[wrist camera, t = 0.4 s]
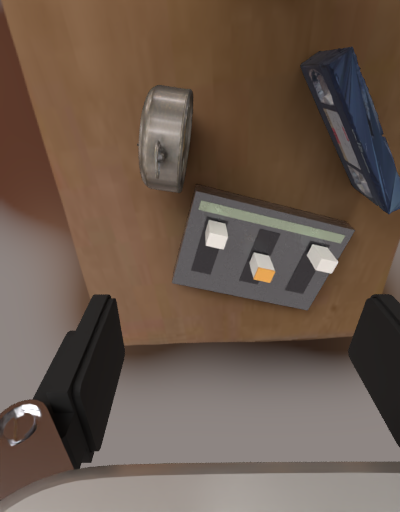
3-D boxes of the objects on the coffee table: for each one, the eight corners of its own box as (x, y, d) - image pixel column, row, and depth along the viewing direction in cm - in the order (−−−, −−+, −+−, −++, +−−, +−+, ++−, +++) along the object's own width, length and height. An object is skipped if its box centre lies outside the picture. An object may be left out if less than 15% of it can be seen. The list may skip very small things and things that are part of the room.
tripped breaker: (253, 252, 45) (258, 268, 41) (269, 255, 45) (275, 271, 42) (249, 262, 46) (253, 279, 42) (264, 266, 46) (270, 283, 43)
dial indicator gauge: (186, 175, 42) (180, 225, 29) (148, 170, 42) (123, 218, 28) (195, 87, 37) (194, 96, 23) (151, 80, 36) (123, 86, 22)
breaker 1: (208, 219, 42) (209, 232, 39) (225, 223, 43) (228, 236, 39) (205, 231, 43) (205, 245, 40) (221, 235, 44) (223, 249, 40)
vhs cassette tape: (297, 64, 36) (328, 62, 27) (321, 48, 35) (360, 40, 26) (348, 189, 44) (384, 217, 35) (368, 178, 43) (411, 204, 34)
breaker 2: (312, 244, 44) (321, 258, 41) (327, 247, 45) (338, 262, 41) (306, 255, 45) (315, 270, 42) (321, 258, 46) (331, 273, 42)
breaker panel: (196, 183, 43) (196, 191, 40) (346, 221, 46) (355, 230, 44) (173, 272, 51) (172, 283, 48) (302, 299, 54) (307, 310, 52)
